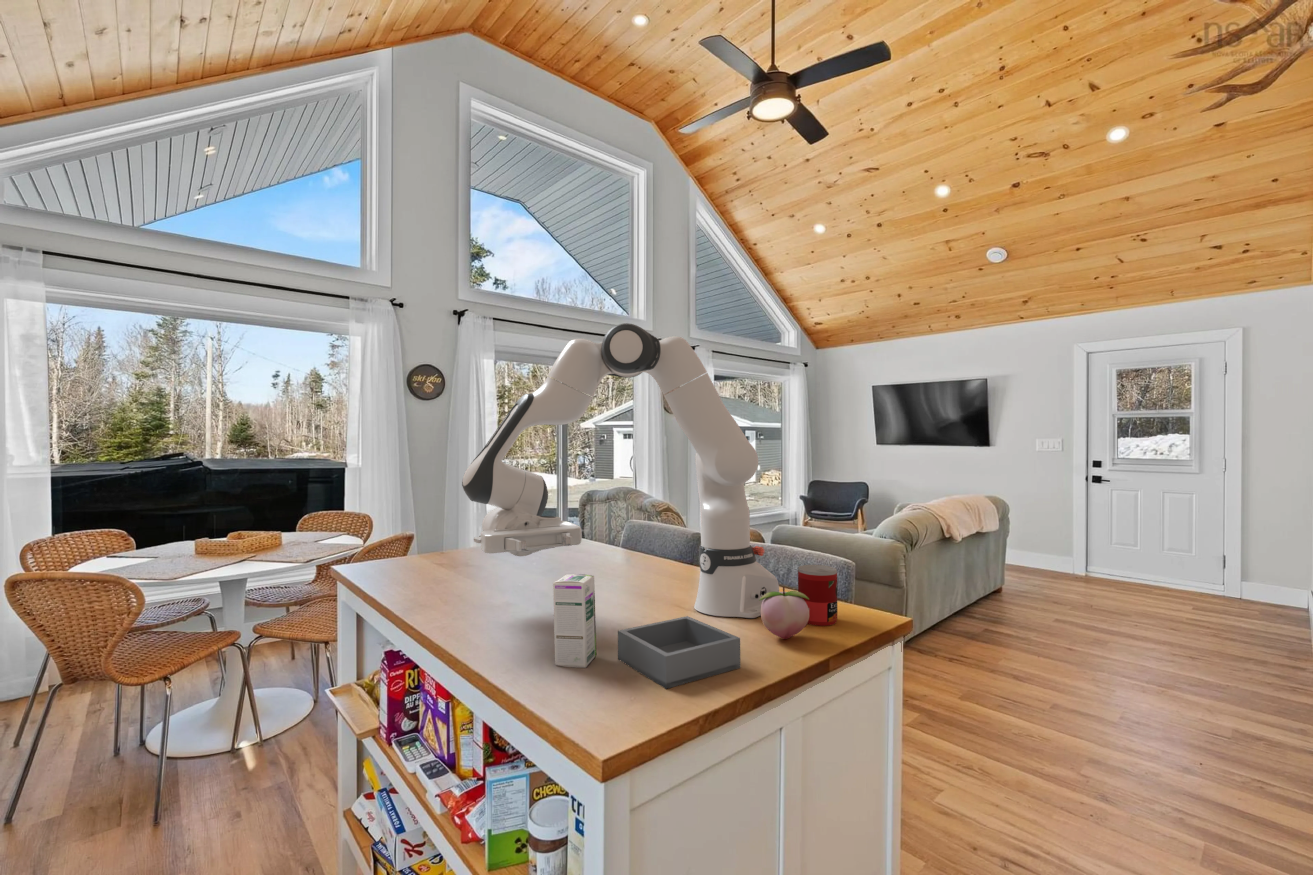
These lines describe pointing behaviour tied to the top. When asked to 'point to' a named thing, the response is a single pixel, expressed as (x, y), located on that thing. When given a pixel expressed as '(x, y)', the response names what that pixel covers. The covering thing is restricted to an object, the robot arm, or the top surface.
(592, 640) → the syrup box
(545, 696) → the top surface
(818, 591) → the canned food
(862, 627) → the top surface
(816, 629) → the top surface
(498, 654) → the top surface
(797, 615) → the decorative fruit
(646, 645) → the bin
